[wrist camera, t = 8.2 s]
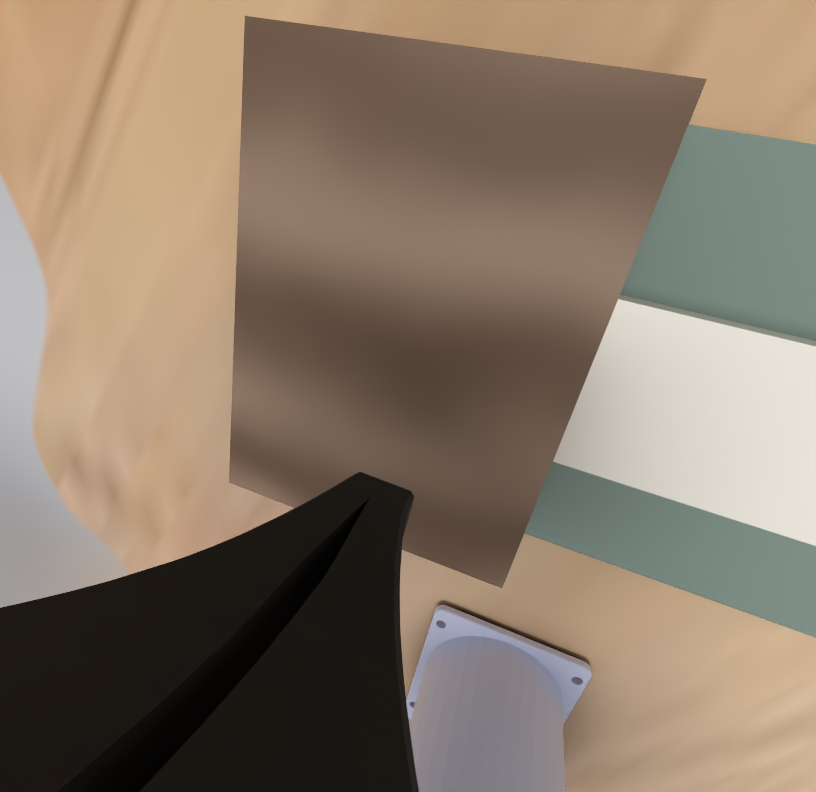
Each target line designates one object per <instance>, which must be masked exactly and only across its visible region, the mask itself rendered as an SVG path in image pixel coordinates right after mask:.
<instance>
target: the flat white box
mask: <svg viewBox="0 0 816 792" xmlns="http://www.w3.org/2000/svg"><path fill="white" fill-rule="evenodd" d="M553 462H556V463H559V464H562V465H565V466H568V467H571V468H574V469H577V470H581V471H584V472H587V473H590V474H593V475H596V476H599V477H602V478H605V479H609V480H612V481H615V482H618V483H621V484H624V485H627V486H630V487H633V488H637V489H640V490H643V491H646V492H649V493H652V494H655V495H658V496H661V497H665V498H668V499H671V500H674V501H677V502H680V503H683V504H686V505H689V506H693V507H696V508H699V509H702V510H705V511H708V512H711V513H714V514H717V515H721V516H724V517H727V518H730V519H733V520H736V521H739V522H742V523H745V524H749V525H752V526H755V527H758V528H761V529H764V530H767V531H770V532H773V533H777V534H780V535H783V536H786V537H789V538H792V539H795V540H798V541H801V542H805V543H808V544H811V545H814V546H816V341H814V340H810V339H805V338H801V337H797V336H793V335H789V334H784V333H780V332H776V331H772V330H768V329H763V328H759V327H755V326H751V325H747V324H742V323H738V322H734V321H730V320H725V319H721V318H717V317H713V316H709V315H704V314H700V313H696V312H692V311H688V310H683V309H679V308H675V307H671V306H667V305H662V304H658V303H654V302H650V301H646V300H641V299H637V298H633V297H629V296H625V295H620V296H619V298H618V301H617V303H616V306H615V308H614V311H613V313H612V316H611V318H610V321H609V323H608V326H607V328H606V331H605V333H604V336H603V338H602V341H601V343H600V346H599V348H598V351H597V353H596V356H595V358H594V361H593V363H592V365H591V368H590V370H589V373H588V375H587V378H586V380H585V383H584V385H583V388H582V390H581V393H580V395H579V398H578V400H577V403H576V405H575V408H574V410H573V413H572V415H571V418H570V420H569V423H568V425H567V428H566V430H565V433H564V435H563V438H562V440H561V443H560V445H559V448H558V450H557V453H556V455H555V458H554V460H553Z"/></svg>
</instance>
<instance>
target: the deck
mask: <svg viewBox="0 0 816 792" xmlns="http://www.w3.org/2000/svg"><path fill="white" fill-rule="evenodd" d="M705 82H706V79H702V78H695V77H687V76H680V75H673V74H665V73H658V72H651V71H643V70H636V69H629V68H621V67H614V66H607V65H600V64H592V63H585V62H578V61H570V60H563V59H556V58H548V57H541V56H534V55H526V54H519V53H512V52H504V51H497V50H490V49H483V48H475V47H468V46H461V45H453V44H446V43H439V42H431V41H424V40H417V39H409V38H402V37H395V36H387V35H380V34H373V33H366V32H358V31H351V30H344V29H336V28H329V27H322V26H314V25H307V24H300V23H292V22H285V21H278V20H270V19H263V18H256V17H249V16H245V30H244V59H243V89H242V118H241V148H240V177H239V207H238V236H237V266H236V295H235V325H234V355H233V384H232V414H231V443H230V473H229V483H232V484H235V485H237V486H240V487H242V488H245V489H247V490H250V491H253V492H255V493H258V494H260V495H263V496H265V497H268V498H271V499H273V500H276V501H278V502H281V503H284V504H286V505H289V506H291V507H294V508H296V507H298V506H300V505H302V504H304V503H305V502H307V501H309V500H311V499H313V498H315V497H316V496H318V495H320V494H322V493H323V492H325V491H327V490H329V489H330V488H332V487H334V486H335V485H337V484H339V483H341V482H342V481H344V480H346V479H347V478H349V477H351V476H352V475H354V474H356V473H358V472H362V473H365V474H368V475H370V476H373V477H376V478H378V479H381V480H383V481H386V482H389V483H391V484H394V485H397V486H399V487H402V488H405V489H407V490H410V491H411V492H412V494H413V495H414V500H413V504H412V507H411V511H410V515H409V518H408V522H407V525H406V529H405V532H404V536H403V541H402V550H405V551H407V552H410V553H412V554H415V555H418V556H420V557H423V558H425V559H428V560H430V561H433V562H436V563H438V564H441V565H443V566H446V567H449V568H451V569H454V570H456V571H459V572H461V573H464V574H467V575H469V576H472V577H474V578H477V579H479V580H482V581H485V582H487V583H490V584H492V585H495V586H498V587H500V588H502V587H503V584H504V582H505V579H506V577H507V574H508V572H509V569H510V567H511V565H512V562H513V560H514V557H515V555H516V552H517V550H518V547H519V545H520V542H521V540H522V537H523V535H524V532H525V530H526V527H527V525H528V522H529V520H530V517H531V515H532V512H533V510H534V507H535V505H536V502H537V500H538V497H539V495H540V492H541V490H542V487H543V485H544V482H545V480H546V477H547V475H548V472H549V470H550V467H551V465H552V463H553V460H554V458H555V455H556V453H557V450H558V448H559V445H560V443H561V440H562V438H563V435H564V433H565V430H566V428H567V425H568V423H569V420H570V418H571V415H572V413H573V410H574V408H575V405H576V403H577V400H578V398H579V395H580V393H581V390H582V388H583V385H584V383H585V380H586V378H587V375H588V373H589V370H590V368H591V365H592V363H593V361H594V358H595V356H596V353H597V351H598V348H599V346H600V343H601V341H602V338H603V336H604V333H605V331H606V328H607V326H608V323H609V321H610V318H611V316H612V313H613V311H614V308H615V306H616V303H617V301H618V298H619V296H620V293H621V291H622V288H623V286H624V283H625V281H626V278H627V276H628V273H629V271H630V268H631V266H632V264H633V261H634V259H635V256H636V254H637V251H638V249H639V246H640V244H641V241H642V239H643V236H644V234H645V231H646V229H647V226H648V224H649V221H650V219H651V216H652V214H653V211H654V209H655V206H656V204H657V201H658V199H659V196H660V194H661V191H662V189H663V186H664V184H665V181H666V179H667V176H668V174H669V171H670V169H671V166H672V164H673V162H674V159H675V157H676V154H677V152H678V149H679V147H680V144H681V142H682V139H683V137H684V134H685V132H686V129H687V127H688V124H689V122H690V119H691V117H692V114H693V112H694V109H695V107H696V104H697V102H698V99H699V97H700V94H701V92H702V89H703V87H704V84H705Z"/></svg>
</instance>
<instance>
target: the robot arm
mask: <svg viewBox="0 0 816 792" xmlns="http://www.w3.org/2000/svg"><path fill="white" fill-rule="evenodd" d="M413 500H414V495H413V494H412V492H411V491H410V490H407V489H405V488H402V487H399V486H397V485H394V484H391V483H389V482H386V481H383V480H381V479H378V478H376V477H373V476H370V475H368V474H365V473H362V472H358V473H356V474H354V475H352V476H351V477H349V478H347V479H346V480H344V481H342V482H341V483H339V484H337V485H335V486H334V487H332V488H330V489H329V490H327V491H325V492H323V493H322V494H320V495H318V496H316V497H315V498H313V499H311V500H309V501H307V502H305V503H304V504H302V505H300V506H298V507H296V508H294V509H292V510H291V511H289V512H287V513H285V514H283V515H281V516H279V517H277V518H275V519H273V520H271V521H269V522H266V523H264V524H262V525H260V526H258V527H256V528H254V529H252V530H250V531H248V532H245V533H243V534H241V535H239V536H236V537H234V538H232V539H229V540H227V541H225V542H222V543H220V544H217V545H215V546H213V547H210V548H207V549H205V550H202V551H200V552H197V553H194V554H192V555H189V556H186V557H184V558H181V559H178V560H175V561H172V562H169V563H166V564H163V565H159V566H156V567H153V568H150V569H147V570H143V571H140V572H137V573H134V574H131V575H128V576H124V577H121V578H118V579H115V580H111V581H108V582H105V583H101V584H97V585H93V586H89V587H85V588H82V589H78V590H74V591H70V592H66V593H62V594H58V595H54V596H50V597H46V598H41V599H38V600H33V601H29V602H25V603H20V604H16V605H11V606H7V607H2V608H0V792H566V783H565V759H564V734H563V725H564V723H565V721H566V720H567V718H568V716H569V715H570V713H571V711H572V709H573V708H574V706H575V704H576V703H577V701H578V699H579V698H580V696H581V694H582V693H583V691H584V689H585V687H586V686H587V684H588V682H589V681H590V679H591V676H592V672H591V667H590V666H589V664H588V663H586V662H584V661H582V660H579V659H577V658H575V657H572V656H570V655H567V654H565V653H562V652H560V651H557V650H555V649H552V648H550V647H547V646H545V645H543V644H540V643H538V642H535V641H533V640H530V639H528V638H525V637H523V636H520V635H518V634H515V633H513V632H511V631H508V630H506V629H503V628H501V627H498V626H496V625H493V624H491V623H488V622H486V621H483V620H481V619H479V618H476V617H474V616H471V615H469V614H466V613H464V612H461V611H459V610H456V609H454V608H452V607H449V606H446V605H439V606H437V607H436V609H435V612H434V615H433V618H432V622H431V625H430V628H429V631H428V634H427V637H426V640H425V643H424V646H423V649H422V653H421V656H420V659H419V662H418V665H417V668H416V671H415V674H414V677H413V680H412V684H411V687H410V690H409V693H408V696H407V699H406V696H405V686H404V676H403V665H402V651H401V635H400V565H401V552H402V541H403V536H404V532H405V529H406V525H407V522H408V518H409V515H410V511H411V507H412V504H413ZM440 620H441V621H443V622H441V621H440ZM409 720H410V724H409Z"/></svg>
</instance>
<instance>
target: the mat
mask: <svg viewBox="0 0 816 792" xmlns="http://www.w3.org/2000/svg"><path fill="white" fill-rule="evenodd" d="M620 295H625V296H629V297H633V298H637V299H641V300H646V301H650V302H654V303H658V304H662V305H667V306H671V307H675V308H679V309H683V310H688V311H692V312H696V313H700V314H704V315H709V316H713V317H717V318H721V319H725V320H730V321H734V322H738V323H742V324H747V325H751V326H755V327H759V328H763V329H768V330H772V331H776V332H780V333H784V334H789V335H793V336H797V337H801V338H805V339H810V340H814V341H816V145H814V144H808V143H801V142H795V141H789V140H782V139H776V138H769V137H763V136H757V135H750V134H744V133H738V132H731V131H725V130H719V129H712V128H706V127H700V126H693V125H688V127H687V129H686V132H685V134H684V137H683V139H682V142H681V144H680V147H679V149H678V152H677V154H676V157H675V159H674V162H673V164H672V166H671V169H670V171H669V174H668V176H667V179H666V181H665V184H664V186H663V189H662V191H661V194H660V196H659V199H658V201H657V204H656V206H655V209H654V211H653V214H652V216H651V219H650V221H649V224H648V226H647V229H646V231H645V234H644V236H643V239H642V241H641V244H640V246H639V249H638V251H637V254H636V256H635V259H634V261H633V264H632V266H631V268H630V271H629V273H628V276H627V278H626V281H625V283H624V286H623V288H622V291H621V293H620ZM524 533H526V534H528V535H531V536H534V537H537V538H540V539H542V540H545V541H548V542H551V543H554V544H556V545H559V546H562V547H565V548H568V549H570V550H573V551H576V552H579V553H581V554H584V555H587V556H590V557H593V558H595V559H598V560H601V561H604V562H607V563H609V564H612V565H615V566H618V567H621V568H623V569H626V570H629V571H632V572H635V573H637V574H640V575H643V576H646V577H648V578H651V579H654V580H657V581H660V582H662V583H665V584H668V585H671V586H674V587H676V588H679V589H682V590H685V591H688V592H690V593H693V594H696V595H699V596H701V597H704V598H707V599H710V600H713V601H715V602H718V603H721V604H724V605H727V606H729V607H732V608H735V609H738V610H741V611H743V612H746V613H749V614H752V615H755V616H757V617H760V618H763V619H766V620H768V621H771V622H774V623H777V624H780V625H782V626H785V627H788V628H791V629H794V630H796V631H799V632H802V633H805V634H808V635H810V636H813V637H816V546H814V545H811V544H808V543H805V542H801V541H798V540H795V539H792V538H789V537H786V536H783V535H780V534H777V533H773V532H770V531H767V530H764V529H761V528H758V527H755V526H752V525H749V524H745V523H742V522H739V521H736V520H733V519H730V518H727V517H724V516H721V515H717V514H714V513H711V512H708V511H705V510H702V509H699V508H696V507H693V506H689V505H686V504H683V503H680V502H677V501H674V500H671V499H668V498H665V497H661V496H658V495H655V494H652V493H649V492H646V491H643V490H640V489H637V488H633V487H630V486H627V485H624V484H621V483H618V482H615V481H612V480H609V479H605V478H602V477H599V476H596V475H593V474H590V473H587V472H584V471H581V470H577V469H574V468H571V467H568V466H565V465H562V464H559V463H556V462H553V463H552V465H551V467H550V470H549V472H548V475H547V477H546V480H545V482H544V485H543V487H542V490H541V492H540V495H539V497H538V500H537V502H536V505H535V507H534V510H533V512H532V515H531V517H530V520H529V522H528V525H527V527H526V530H525V532H524Z"/></svg>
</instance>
